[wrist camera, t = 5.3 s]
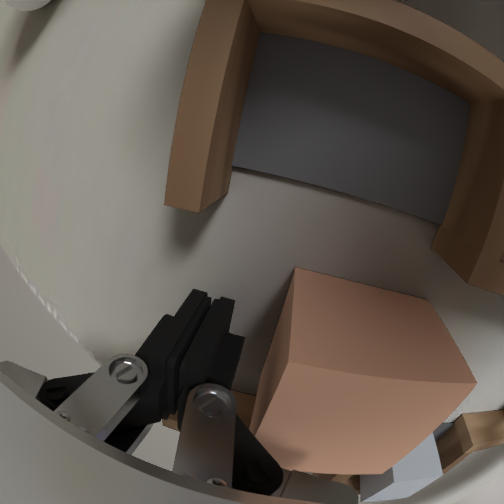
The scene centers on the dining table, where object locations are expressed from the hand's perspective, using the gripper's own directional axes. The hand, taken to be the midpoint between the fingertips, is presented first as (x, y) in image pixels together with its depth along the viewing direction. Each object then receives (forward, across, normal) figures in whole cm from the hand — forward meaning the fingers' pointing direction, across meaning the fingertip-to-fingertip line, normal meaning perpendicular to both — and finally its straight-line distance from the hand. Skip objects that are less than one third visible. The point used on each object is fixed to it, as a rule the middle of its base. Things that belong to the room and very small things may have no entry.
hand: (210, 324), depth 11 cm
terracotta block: (+1, -6, 0) cm, 6 cm away
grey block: (+1, -14, +8) cm, 16 cm away
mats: (+1, -11, 0) cm, 11 cm away
